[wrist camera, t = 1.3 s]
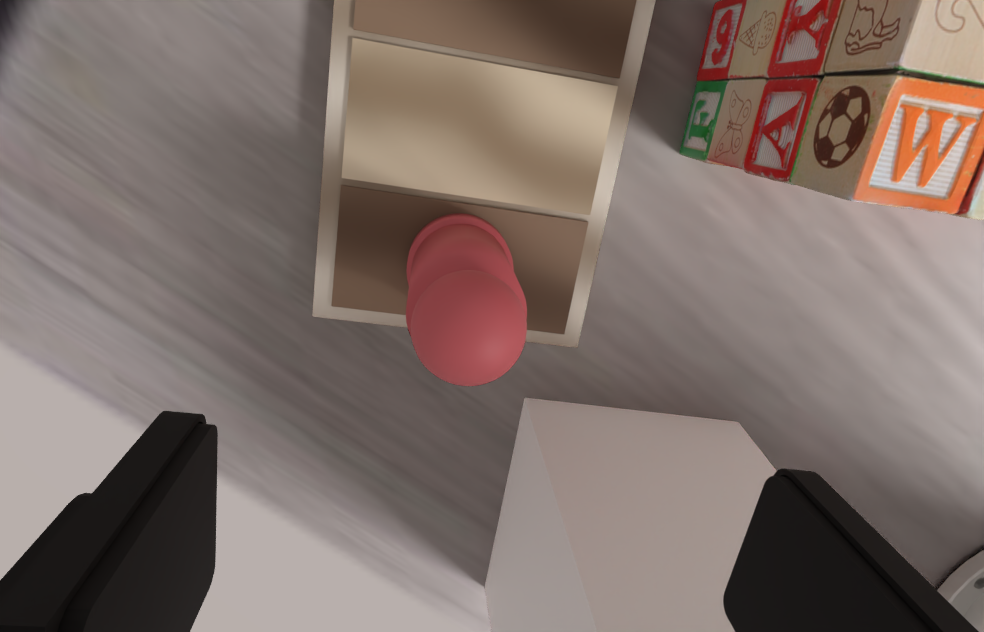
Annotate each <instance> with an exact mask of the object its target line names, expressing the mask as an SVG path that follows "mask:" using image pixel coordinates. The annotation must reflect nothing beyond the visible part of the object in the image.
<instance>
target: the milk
mask: <svg viewBox="0 0 984 632" xmlns="http://www.w3.org/2000/svg"><path fill="white" fill-rule="evenodd" d="M776 472H777V471H776V469H775V468H774V467H773V466H772V464H771V463H770V462H769V460H768V459H767V458H766V457H765V455H764V454H763V453H762V452H761V450H760V449H759V448H758V446H757V445H756V444H755V443H754V441H753V440H752V439H751V438H750V436H749V435H748V434H747V432H746V431H745V430H744V429H743V427H742V426H741V425H740V424H739V422H736V421H727V420H718V419H709V418H700V417H692V416H683V415H674V414H665V413H656V412H648V411H639V410H630V409H621V408H612V407H603V406H595V405H586V404H577V403H568V402H559V401H551V400H542V399H533V398H524V402H523V407H522V412H521V417H520V421H519V426H518V431H517V436H516V440H515V445H514V450H513V455H512V459H511V464H510V469H509V474H508V478H507V483H506V488H505V493H504V497H503V502H502V507H501V512H500V516H499V521H498V526H497V531H496V535H495V540H494V545H493V550H492V554H491V559H490V564H489V569H488V573H487V578H486V583H485V593H486V600H487V606H488V613H489V619H490V626H491V632H735V630H734V629H733V627H732V625H731V623H730V622H729V620H728V618H727V616H726V614H725V610H724V605H723V596H724V592H725V589H726V586H727V583H728V581H729V578H730V575H731V573H732V570H733V567H734V564H735V562H736V559H737V556H738V554H739V551H740V548H741V545H742V543H743V540H744V537H745V535H746V532H747V529H748V527H749V524H750V521H751V518H752V516H753V513H754V510H755V508H756V505H757V502H758V499H759V497H760V494H761V491H762V489H763V486H764V483H765V481H766V480H767V479H768V478H769V477H771V476H774V474H775V473H776Z"/></svg>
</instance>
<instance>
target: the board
mask: <svg viewBox="0 0 984 632" xmlns="http://www.w3.org/2000/svg"><path fill="white" fill-rule="evenodd" d="M655 1H656V0H334V7H333V22H332V36H331V51H330V65H329V80H328V94H327V109H326V123H325V138H324V153H323V167H322V182H321V196H320V211H319V225H318V240H317V254H316V269H315V283H314V298H313V312H312V317H321V318H329V319H338V320H346V321H355V322H363V323H372V324H380V325H389V326H397V327H405V328H408V327H407V323H406V305H407V298H408V290H409V285H408V281H407V272H406V271H407V261H408V255H409V250H410V247H411V244H412V242H413V240H414V238H415V237H416V235H417V234H418V233H419V232H420V230H421V229H422V228H423V227H424V226H426V225H427V224H428V223H430V222H431V221H433V220H434V219H437V218H439V217H441V216H444V215H448V214H456V213H463V214H470V215H474V216H477V217H480V218H482V219H484V220H486V221H487V222H489V223H490V224H492V225H493V226H494V227H495V228H496V229H497V230H498V231H499V232H500V234H501V235H502V237H503V238H504V240H505V242H506V244H507V246H508V248H509V250H510V253H511V256H512V259H513V266H514V273H515V275H516V277H517V280H518V282H519V284H520V286H521V288H522V291H523V293H524V296H525V299H526V305H527V319H526V322H527V333H526V340H525V342H532V343H541V344H549V345H558V346H566V347H574V348H577V347H578V343H579V338H580V334H581V329H582V325H583V320H584V316H585V312H586V307H587V303H588V298H589V294H590V289H591V285H592V281H593V276H594V272H595V267H596V263H597V258H598V254H599V250H600V245H601V241H602V236H603V232H604V227H605V223H606V219H607V214H608V210H609V205H610V201H611V196H612V192H613V188H614V183H615V179H616V174H617V170H618V165H619V161H620V156H621V152H622V148H623V143H624V139H625V134H626V130H627V125H628V121H629V117H630V112H631V108H632V103H633V99H634V94H635V90H636V86H637V81H638V77H639V72H640V68H641V63H642V59H643V55H644V50H645V46H646V41H647V37H648V32H649V28H650V24H651V19H652V15H653V10H654V6H655Z"/></svg>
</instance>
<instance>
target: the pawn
mask: <svg viewBox="0 0 984 632" xmlns="http://www.w3.org/2000/svg"><path fill="white" fill-rule="evenodd" d="M406 272H407V281H408V285H409V290H408V298H407V305H406V323H407V327H408V331H409V333H410V336H411V338H412V342H413V346H414V349H415V351H416V353H417V355H418V357H419V359H420V361H421V362H422V363H423V365H424V366H425V367H426V368H427V369H428V370H429V371H430V372H431V373H433V374H434V375H435V376H437V377H438V378H440V379H442V380H444V381H446V382H448V383H452V384H455V385H461V386H477V385H482V384H486V383H489V382H491V381H493V380H496V379H497V378H499V377H501V376H502V375H504V374H505V373H506V372H507V371H508V370H509V369H510V368H511V367H512V366H513V365H514V364H515V362H516V361H517V359H518V358H519V356H520V354H521V352H522V350H523V347H524V344H525V340H526V333H527V322H526V319H527V305H526V299H525V296H524V293H523V291H522V288H521V286H520V284H519V282H518V280H517V277H516V275H515V273H514V266H513V259H512V256H511V253H510V250H509V248H508V246H507V244H506V242H505V240H504V238H503V237H502V235H501V234H500V232H499V231H498V230H497V229H496V228H495V227H494V226H493V225H492V224H490V223H489V222H487V221H486V220H484V219H482V218H480V217H477V216H474V215H470V214H463V213H456V214H448V215H444V216H441V217H439V218H437V219H434V220H433V221H431V222H430V223H428V224H427V225H426V226H424V227H423V228H422V229H421V230H420V232H419V233H418V234H417V235H416V237H415V238H414V240H413V242H412V244H411V247H410V250H409V255H408V261H407V271H406Z"/></svg>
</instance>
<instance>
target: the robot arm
mask: <svg viewBox="0 0 984 632" xmlns="http://www.w3.org/2000/svg"><path fill="white" fill-rule="evenodd" d="M217 436H218V435H217V427H216V426H215V425H210V424H206V419H205V416H204V415H203V414H193V413H183V412H172V411H163V412H162V413H161V414H159V416H158V417H157V418H156V419H155V420H154V421H153V423H152V424H151V425H150V426H149V427H148V428H147V430H146V431H145V432H144V433H143V434H142V436H141V437H140V438H139V439H138V440H137V441H136V443H135V444H134V445H133V446H132V447H131V448H130V450H129V451H128V452H127V453H126V454H125V456H124V457H123V458H122V459H121V460H120V461H119V463H118V464H117V465H116V466H115V467H114V469H113V470H112V471H111V472H110V473H109V474H108V475H107V477H106V478H105V479H104V480H103V481H102V482H101V484H100V485H99V486H98V487H97V489H96V490H95V491H94V492H93V493H91V494H90V493H84V494H80V495H78V496H77V497H75V498H74V499H73V500H72V501H71V502H70V503H69V504H68V505H67V506H66V507H65V508H64V509H63V511H62V512H61V513H60V514H59V515H58V516H57V517H56V518H55V520H54V521H53V522H52V523H51V524H50V525H49V526H48V527H47V529H46V530H45V531H44V532H43V533H42V534H41V535H40V537H39V538H38V539H37V540H36V541H35V542H34V543H33V544H32V546H31V547H30V548H29V549H28V550H27V551H26V552H25V553H24V554H23V556H22V557H21V558H20V559H19V560H18V561H17V562H16V564H15V565H14V566H13V567H12V568H11V569H10V570H9V571H8V572H7V574H6V575H5V576H4V577H3V578H2V579H1V580H0V632H190V630H191V628H192V626H193V623H194V621H195V619H196V617H197V615H198V612H199V610H200V608H201V606H202V603H203V601H204V598H205V597H206V595H207V592H208V590H209V588H210V585H211V582H212V578H213V574H214V569H215V551H216V491H217ZM723 605H724V610H725V614H726V616H727V618H728V620H729V622H730V623H731V625H732V627H733V629H734V630H735V632H984V550H982V551H980V552H979V553H977V554H976V555H975V556H973V557H972V558H970V559H969V560H967V561H966V562H964V563H963V564H962V565H961V566H960V567H959V568H958V569H956V570H955V571H954V572H953V573H952V574H951V575H950V576H949V577H948V578H947V579H946V580H945V582H944V583H943V584H942V585H941V586H940V587H939V589H938V590H936V589H935V588H934V587H933V586H932V585H931V584H930V583H929V582H928V581H927V580H926V579H925V578H924V577H923V576H922V575H920V574H919V573H918V572H917V571H916V570H915V569H914V568H913V567H912V566H911V565H910V564H909V563H908V562H907V561H906V560H905V559H904V558H903V557H902V556H901V555H900V554H899V553H898V552H897V551H896V550H895V549H894V548H893V547H892V546H891V545H890V544H889V543H888V542H887V541H886V540H885V539H884V538H883V537H882V536H881V535H880V534H879V533H878V532H877V531H876V530H875V529H874V528H873V527H872V526H871V525H870V524H868V523H867V522H866V521H865V520H864V519H863V518H862V517H861V516H860V515H859V514H858V513H857V512H856V511H855V510H854V509H853V508H852V507H851V506H850V505H849V504H848V503H847V502H846V501H845V500H844V499H843V498H842V497H841V496H840V495H839V494H838V493H837V492H836V491H835V490H834V489H833V488H832V487H831V486H830V485H829V484H828V483H827V482H826V481H825V480H824V479H823V478H822V477H821V476H820V475H818V474H817V473H815V472H811V471H802V470H791V469H780V470H778V471H777V472H776V473H775V474H774V476H771V477H769V478H768V479H767V480H766V481H765V483H764V486H763V489H762V491H761V494H760V497H759V499H758V502H757V505H756V508H755V510H754V513H753V516H752V518H751V521H750V524H749V527H748V529H747V532H746V535H745V537H744V540H743V543H742V545H741V548H740V551H739V554H738V556H737V559H736V562H735V564H734V567H733V570H732V573H731V575H730V578H729V581H728V583H727V586H726V589H725V592H724V596H723Z"/></svg>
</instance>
